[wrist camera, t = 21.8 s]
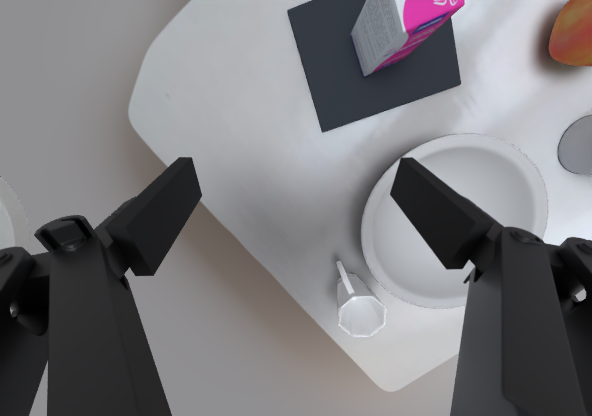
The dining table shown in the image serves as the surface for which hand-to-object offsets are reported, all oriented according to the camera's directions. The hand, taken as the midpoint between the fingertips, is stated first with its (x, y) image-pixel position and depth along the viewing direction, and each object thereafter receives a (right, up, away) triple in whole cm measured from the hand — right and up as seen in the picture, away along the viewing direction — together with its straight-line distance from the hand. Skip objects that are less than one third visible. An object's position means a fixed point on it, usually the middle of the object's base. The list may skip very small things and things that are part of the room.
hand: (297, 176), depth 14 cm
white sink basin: (+21, -3, +21) cm, 29 cm away
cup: (+9, -14, +23) cm, 29 cm away
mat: (+11, +20, +16) cm, 27 cm away
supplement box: (+11, +20, +15) cm, 27 cm away
